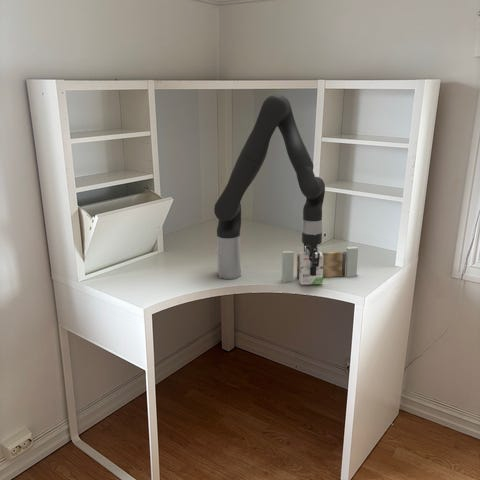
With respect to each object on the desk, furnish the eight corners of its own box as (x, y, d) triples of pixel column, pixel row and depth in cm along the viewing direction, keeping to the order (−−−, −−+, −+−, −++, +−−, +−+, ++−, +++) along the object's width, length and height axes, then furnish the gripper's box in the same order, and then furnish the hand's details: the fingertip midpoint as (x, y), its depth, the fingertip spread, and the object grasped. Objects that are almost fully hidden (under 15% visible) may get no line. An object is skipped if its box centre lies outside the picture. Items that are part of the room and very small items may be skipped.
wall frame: (283, 281, 194) (283, 253, 190) (282, 279, 196) (282, 251, 192) (356, 276, 198) (358, 248, 194) (354, 274, 200) (356, 246, 196)
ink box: (320, 279, 194) (321, 251, 190) (322, 284, 189) (323, 255, 185) (298, 280, 193) (299, 251, 190) (300, 284, 188) (301, 256, 185)
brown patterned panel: (297, 278, 197) (297, 254, 193) (296, 275, 199) (296, 252, 196) (345, 276, 198) (346, 252, 194) (343, 273, 200) (345, 250, 197)
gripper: (297, 226, 191) (296, 266, 196) (307, 237, 177) (306, 280, 183) (316, 224, 192) (314, 265, 197) (327, 235, 178) (325, 279, 184)
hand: (310, 272), depth 190 cm, fingers closed on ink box, 5 cm apart
